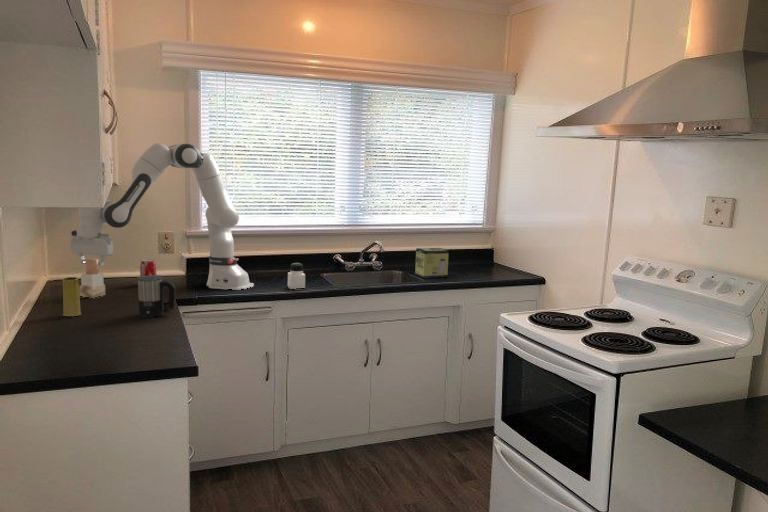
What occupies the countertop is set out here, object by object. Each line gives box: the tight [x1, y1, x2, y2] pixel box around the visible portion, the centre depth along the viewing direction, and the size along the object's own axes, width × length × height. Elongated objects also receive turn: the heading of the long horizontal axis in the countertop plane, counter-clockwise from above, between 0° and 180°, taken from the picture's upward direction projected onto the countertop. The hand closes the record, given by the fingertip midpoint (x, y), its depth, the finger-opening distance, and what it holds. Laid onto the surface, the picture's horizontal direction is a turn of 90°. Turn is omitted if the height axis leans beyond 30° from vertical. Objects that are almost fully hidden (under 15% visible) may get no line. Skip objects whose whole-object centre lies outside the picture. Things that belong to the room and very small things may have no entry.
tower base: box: [79, 284, 106, 299], centre depth 254 cm, size 7×7×5 cm
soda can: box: [139, 258, 157, 277], centre depth 279 cm, size 7×7×12 cm
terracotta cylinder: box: [85, 258, 100, 275], centre depth 252 cm, size 5×5×6 cm
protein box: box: [414, 247, 450, 278], centre depth 330 cm, size 10×16×16 cm
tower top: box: [80, 272, 104, 287], centre depth 253 cm, size 6×6×5 cm
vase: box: [62, 276, 82, 317], centre depth 221 cm, size 6×6×14 cm
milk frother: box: [136, 274, 177, 318], centre depth 231 cm, size 14×16×15 cm
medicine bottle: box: [287, 262, 306, 290], centre depth 286 cm, size 7×7×12 cm
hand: (92, 264), depth 252 cm, fingers open, 8 cm apart
